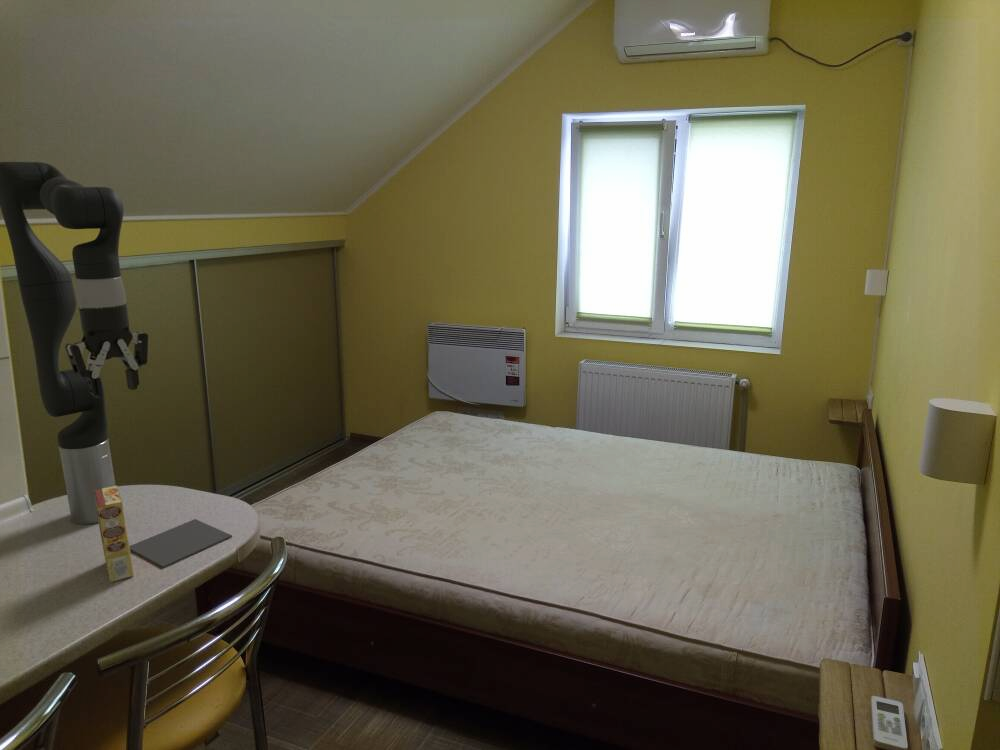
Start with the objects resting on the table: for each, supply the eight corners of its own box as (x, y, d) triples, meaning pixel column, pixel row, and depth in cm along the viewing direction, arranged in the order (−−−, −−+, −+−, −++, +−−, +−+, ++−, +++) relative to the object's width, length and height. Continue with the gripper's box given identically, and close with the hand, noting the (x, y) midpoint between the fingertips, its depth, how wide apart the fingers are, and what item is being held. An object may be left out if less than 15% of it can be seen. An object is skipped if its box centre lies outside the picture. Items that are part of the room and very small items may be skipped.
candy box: (134, 576, 130) (123, 501, 126) (109, 583, 128) (96, 507, 124) (128, 556, 138) (118, 484, 134) (104, 562, 135) (92, 489, 131)
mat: (127, 548, 140) (126, 547, 140) (195, 520, 152) (195, 518, 152) (163, 568, 133) (163, 566, 133) (232, 537, 145) (231, 535, 145)
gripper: (130, 295, 133) (142, 381, 137) (49, 306, 121) (64, 399, 126) (152, 299, 129) (163, 387, 133) (70, 310, 117) (85, 406, 121)
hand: (115, 392), depth 129 cm, fingers open, 5 cm apart
